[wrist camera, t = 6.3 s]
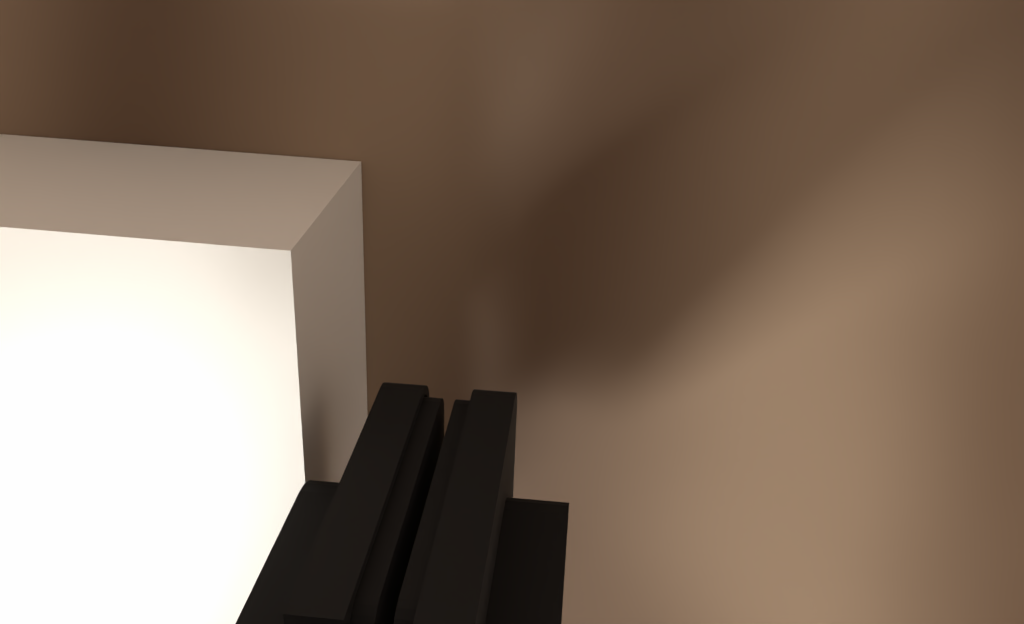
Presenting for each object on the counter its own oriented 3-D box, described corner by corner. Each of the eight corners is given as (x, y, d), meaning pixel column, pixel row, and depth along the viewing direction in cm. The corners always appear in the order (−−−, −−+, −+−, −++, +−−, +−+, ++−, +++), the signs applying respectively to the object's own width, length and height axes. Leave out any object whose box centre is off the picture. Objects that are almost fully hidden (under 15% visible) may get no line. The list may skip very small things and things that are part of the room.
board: (1400, -203, 10) (1476, -208, 9) (1013, 782, 17) (1034, 833, 17) (-1015, -267, 12) (-1140, -276, 12) (-482, 634, 20) (-534, 671, 19)
